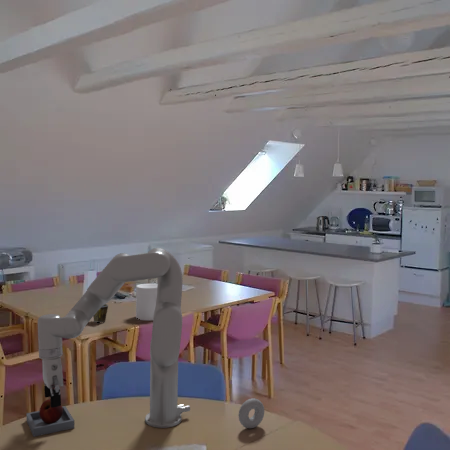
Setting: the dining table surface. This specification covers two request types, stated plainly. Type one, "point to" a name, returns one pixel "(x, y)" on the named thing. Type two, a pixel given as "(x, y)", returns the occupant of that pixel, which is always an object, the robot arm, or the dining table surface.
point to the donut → (245, 410)
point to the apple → (50, 412)
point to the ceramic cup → (101, 314)
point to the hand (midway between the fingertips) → (52, 401)
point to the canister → (146, 301)
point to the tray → (43, 428)
